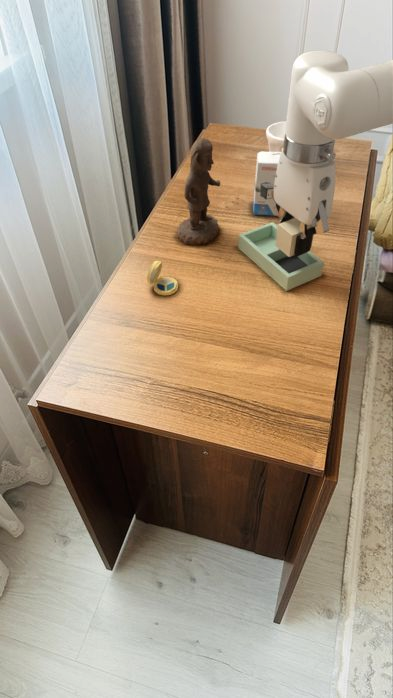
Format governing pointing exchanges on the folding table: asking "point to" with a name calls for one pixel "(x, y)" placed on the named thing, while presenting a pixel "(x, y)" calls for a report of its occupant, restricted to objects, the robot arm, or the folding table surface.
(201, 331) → the folding table surface
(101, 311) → the folding table surface
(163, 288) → the eyeshadow
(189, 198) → the figurine
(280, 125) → the cup
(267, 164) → the ink box
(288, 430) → the folding table surface
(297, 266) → the pad tray
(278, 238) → the beige block
